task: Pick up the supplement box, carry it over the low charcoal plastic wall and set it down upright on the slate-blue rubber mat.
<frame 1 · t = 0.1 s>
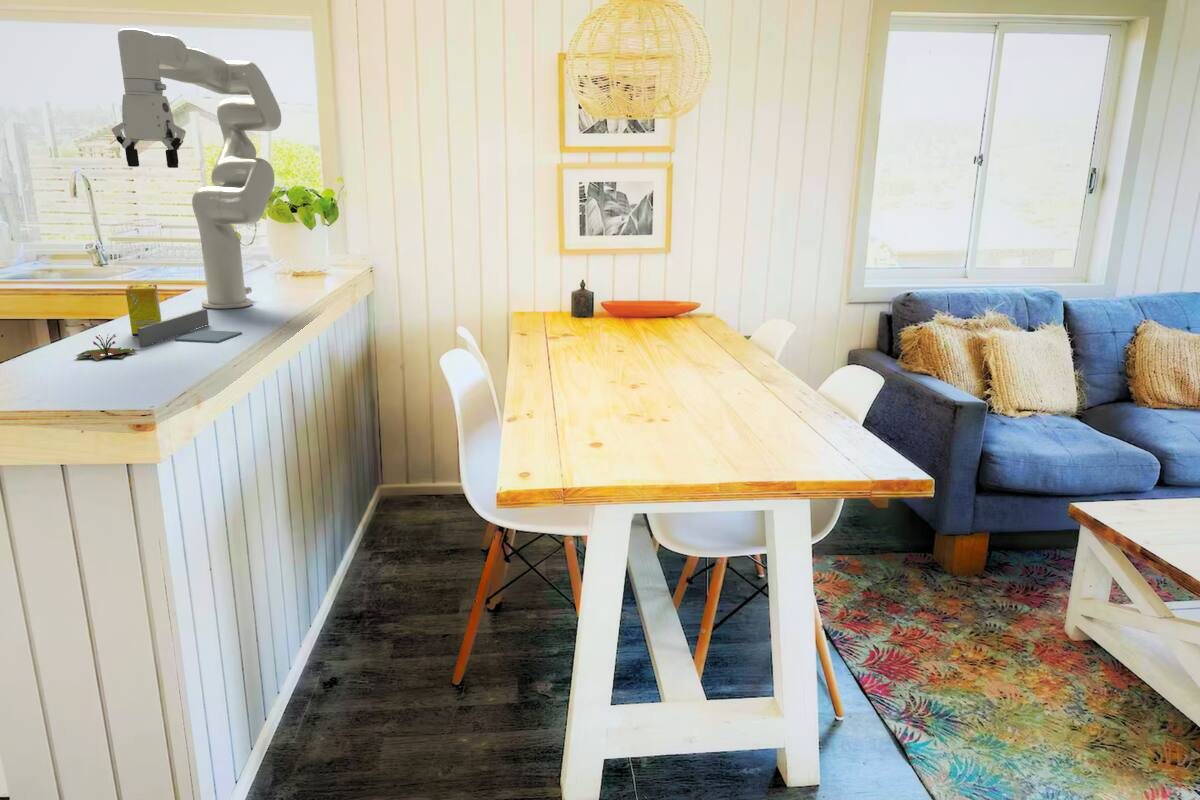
hand: (153, 167, 186), 37 cm above the table, tool pointing down, fingers open, 9 cm apart
rubber mat: (209, 337, 182), on the table
supplement box: (147, 334, 183), on the table
lily flower: (107, 358, 164), on the table
low wall: (176, 335, 182), on the table
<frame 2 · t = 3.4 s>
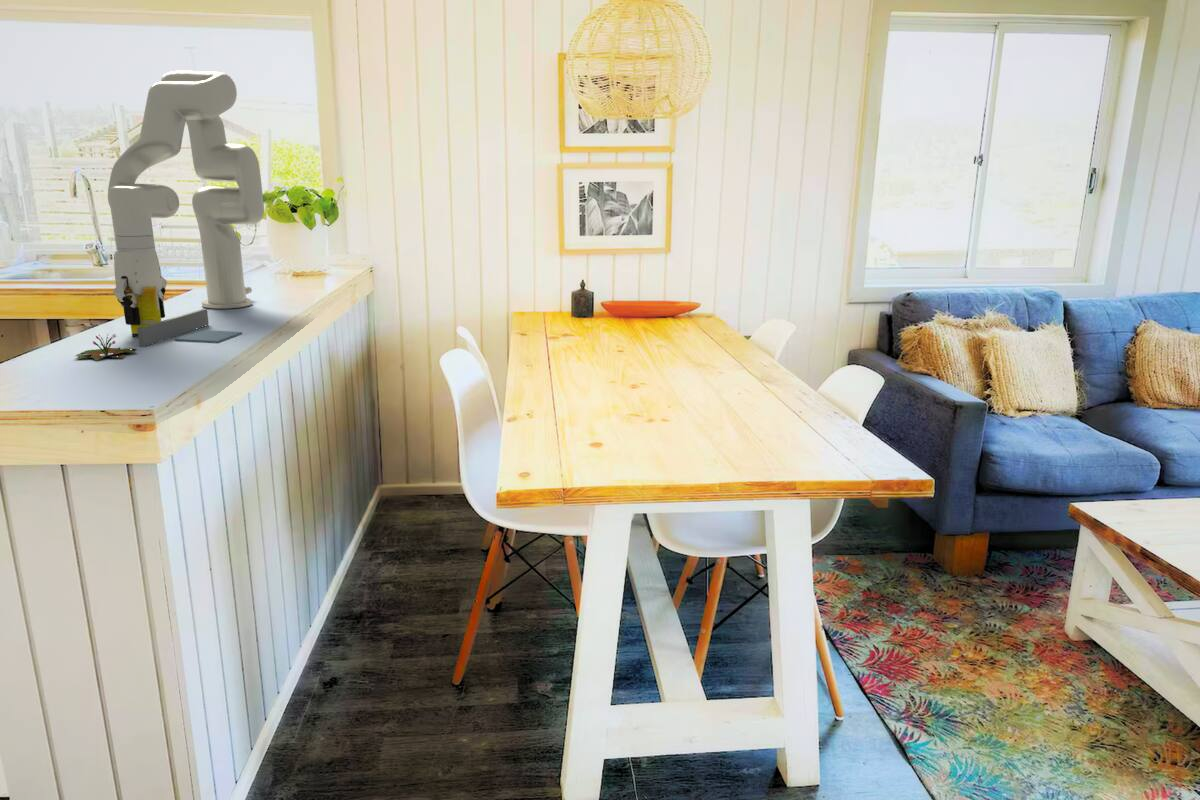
hand: (145, 320, 182), 3 cm above the table, tool pointing down, fingers closed on supplement box, 8 cm apart
supplement box: (147, 334, 183), on the table, touching gripper
everything else where it was.
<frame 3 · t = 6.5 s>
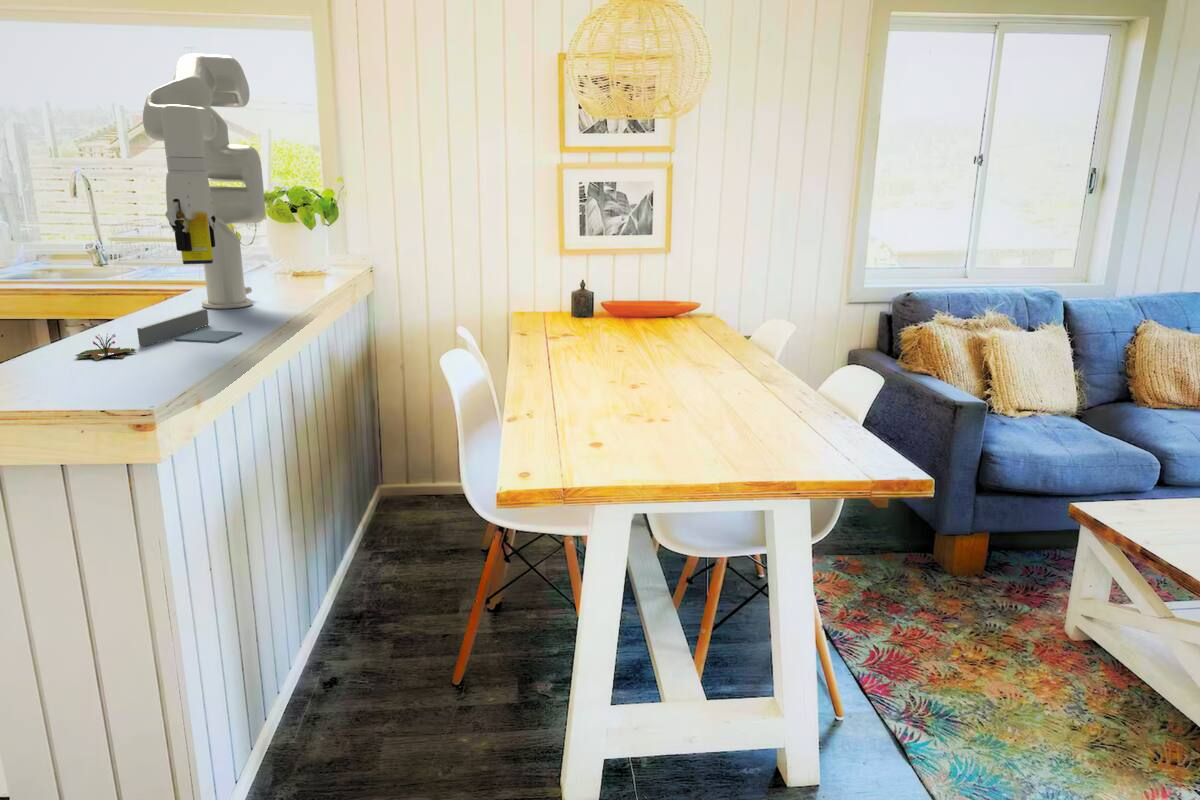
hand: (196, 248, 176), 20 cm above the table, tool pointing down, fingers closed on supplement box, 8 cm apart
supplement box: (198, 263, 177), point 17 cm above the table, touching gripper
everything else where it was.
when the fingers open (5 cm above the table, at t = 10.1 s): supplement box drops 1 cm, resting on rubber mat.
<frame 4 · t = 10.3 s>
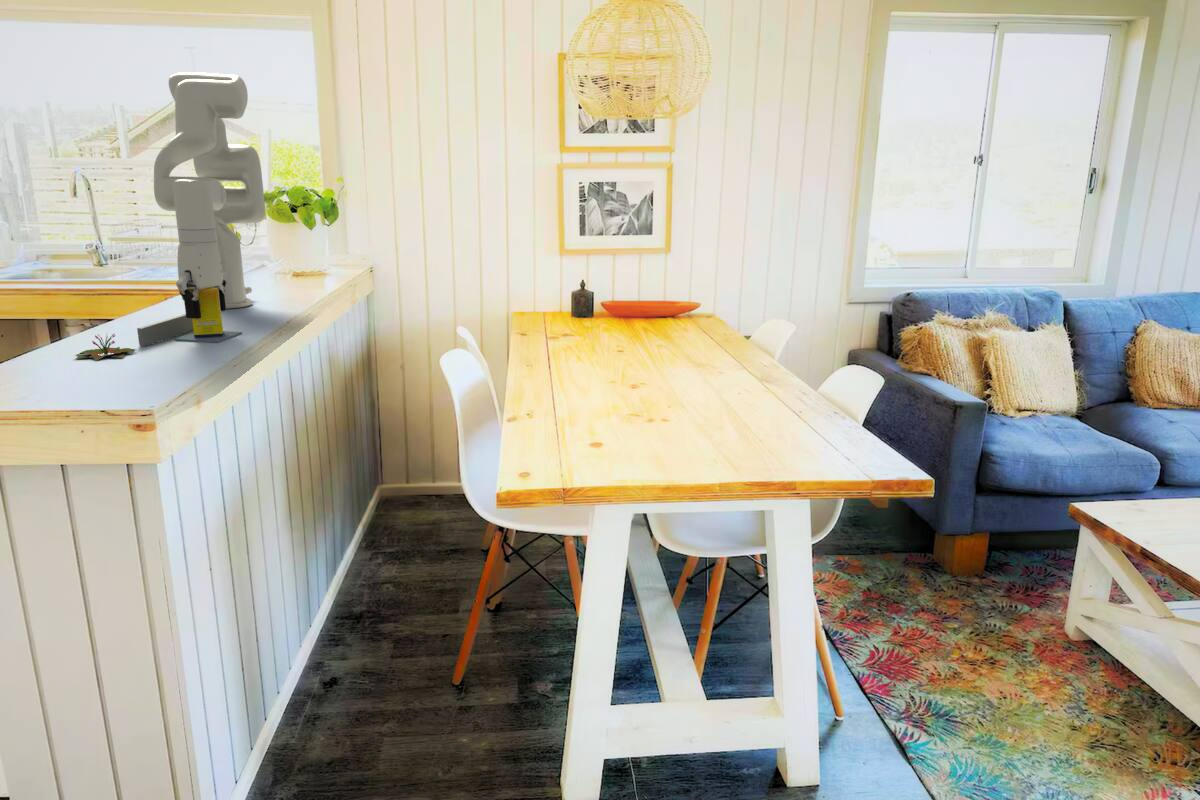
hand: (206, 314, 180), 5 cm above the table, tool pointing down, fingers open, 9 cm apart
supplement box: (209, 336, 182), resting on rubber mat
everything else where it was.
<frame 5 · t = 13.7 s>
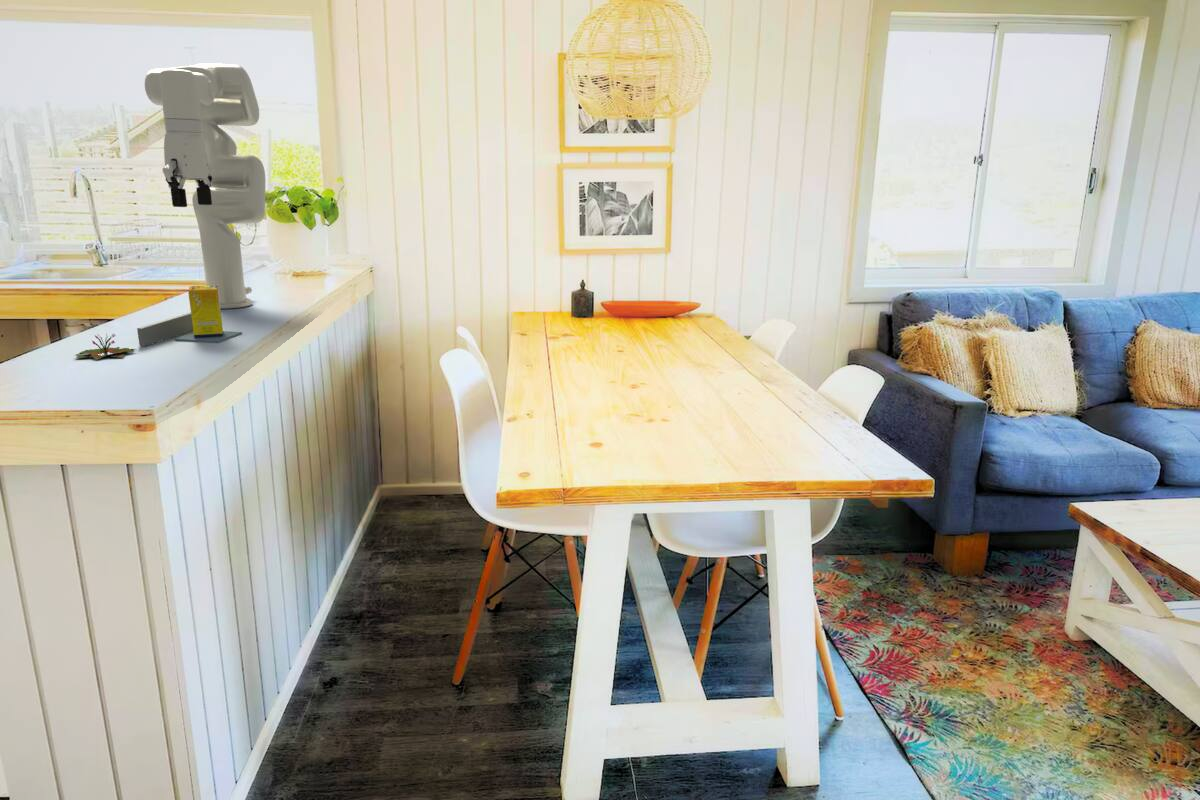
hand: (192, 205, 186), 28 cm above the table, tool pointing down, fingers open, 9 cm apart
nothing on the table moved.
at the end: supplement box 0.1 cm off-centre on the rubber mat, point 0.2 cm above the rubber mat's base; supplement box tilted 0°; the gripper is holding nothing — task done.
